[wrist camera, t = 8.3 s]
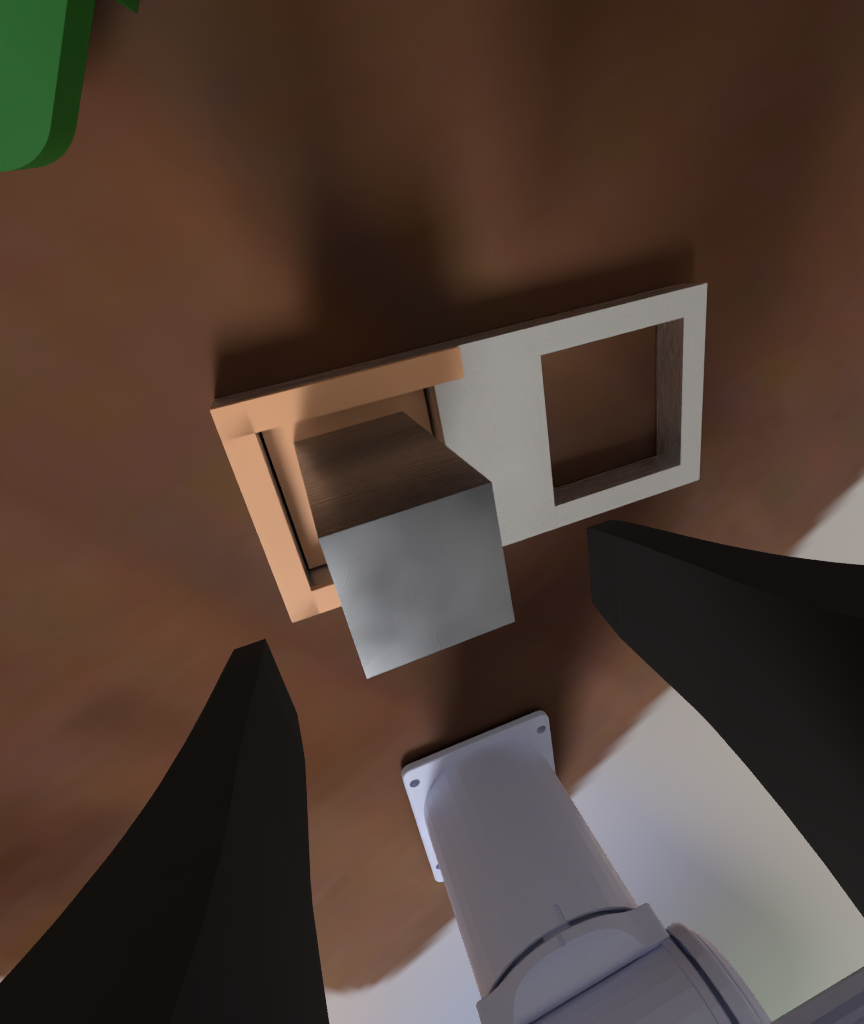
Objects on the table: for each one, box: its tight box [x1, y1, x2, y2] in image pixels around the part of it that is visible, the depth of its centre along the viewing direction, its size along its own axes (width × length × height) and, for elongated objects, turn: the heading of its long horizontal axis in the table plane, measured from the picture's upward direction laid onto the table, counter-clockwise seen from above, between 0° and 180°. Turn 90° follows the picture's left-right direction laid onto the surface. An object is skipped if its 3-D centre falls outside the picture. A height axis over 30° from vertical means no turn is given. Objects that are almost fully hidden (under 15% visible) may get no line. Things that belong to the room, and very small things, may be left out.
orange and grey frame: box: [211, 283, 707, 587], centre depth 20 cm, size 8×18×2 cm, turn 101°
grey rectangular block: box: [293, 411, 515, 679], centre depth 16 cm, size 4×4×8 cm
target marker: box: [210, 346, 465, 623], centre depth 19 cm, size 8×8×2 cm
